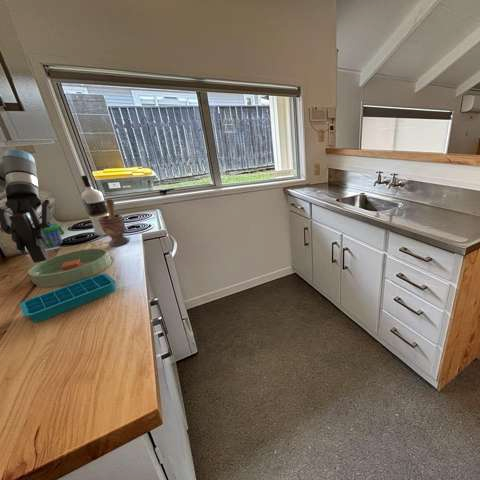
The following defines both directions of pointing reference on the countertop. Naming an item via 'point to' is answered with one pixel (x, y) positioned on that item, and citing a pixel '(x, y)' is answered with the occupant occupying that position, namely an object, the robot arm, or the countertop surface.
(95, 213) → the vodka
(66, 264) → the block
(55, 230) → the green blue printed package
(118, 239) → the mortar and pestle
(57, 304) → the ice cube tray
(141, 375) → the countertop surface
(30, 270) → the bowl
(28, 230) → the dark grey bar
